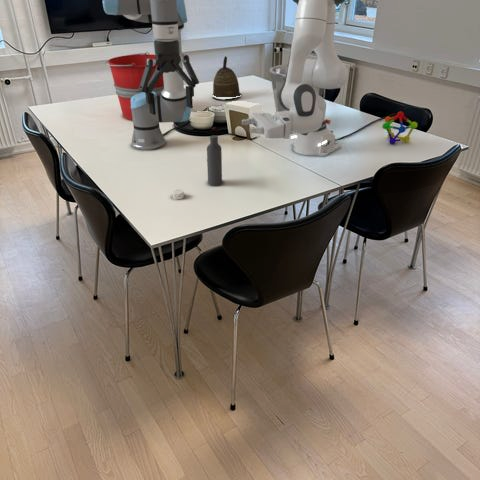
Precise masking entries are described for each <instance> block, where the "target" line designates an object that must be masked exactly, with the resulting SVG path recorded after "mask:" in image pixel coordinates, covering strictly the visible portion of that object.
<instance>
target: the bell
mask: <svg viewBox="0 0 480 480" xmlns="http://www.w3.org/2000/svg"><path fill="white" fill-rule="evenodd" d="M227 63H228V57H227V56H224V58H223V63H222V67H221V68H219V69H218V70H217V71H216V73H215V75H214V78H213V81H212V83H213V84H212V95H214V96H216V97H236V96H240V95H241V96H242V93H241V92H240V83H239V80H238V79H239V78H238V77H237V75H236V73H235V72H234V70H232V69H231V68H230V67H227Z"/></svg>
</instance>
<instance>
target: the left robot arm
mask: <svg viewBox="0 0 480 480" xmlns="http://www.w3.org/2000/svg"><path fill="white" fill-rule="evenodd" d="M101 2H102V7H103V11H104V13H105V14H106V15H112V16H123V17H124V18H126V19H128V20H131V21H135V22H140V23H145V24H146V23H148V24H152V25H151V26H152V35H153V36H152V37H153V39H154V41H153V46H154V47H153V48H154V55H156V56H155V59H149V58H147V59H146V67H145V70H144V73H143V77H142V80H141V83H140V86H139V90H140V91H142V93H139V94H136V95H134V96H133V97H132V98H131V110H132V117H133V120H132V125H133V132H132V135H131V142H130V143H131V147H132V148H134V149H135V150H141V151H151V150H153V151H154V150H157V149H161V148H163V147H164V146H165V144H166V140H165V137H164V136H165V135H167V134H169V133H170V132H172V131H174V130H176V129H178V128H180V127H183V126H184V125H186V124H189V123H190V122H189V120H190V119H191V111H192V109H193V108H194V105H193V97H195V88H196V85H199V84H200V81H199V79H198V77H197V74H196V72H195V70H194V67H193V66H192V64H191V62H190V55H189V54H184V53H183V50H182V33H181V32H182V31H183V30H184V29H185V24H186V23H188V16H187V9H186V5H185V4H186V3H185V0H102V1H101ZM154 64H156V65H157V67H156V69H155V72H154V74H153V76H152V77H151V79H150V76H151V73H152V70H153V66H154ZM183 66H184V67H183ZM184 69H185V70H186V72H187V73H186V72H185V71H184ZM187 74H188V75H187ZM161 75H163V81H164V89H163V90H162V92H161V96H157V94H156V92H152V90H153V89H154V87H155V85H156V83H157V82H158V80H159V78H160V77H161ZM149 79H150V81H149ZM184 83H185V84H186V85H185V84H184ZM208 107H209V106H207V107H206V108H204V109H203V110H202V111H204V112H205V111H206V110H208V109H209V108H208ZM207 108H208V109H207ZM183 122H184V123H183ZM160 123H181V124H179V125H177V126H175V127H173V128H170V129H169V130H167V131H166V132H165V133H163V132H162V130H161V127H160Z"/></svg>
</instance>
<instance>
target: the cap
mask: <svg viewBox="0 0 480 480" xmlns="http://www.w3.org/2000/svg"><path fill="white" fill-rule="evenodd" d="M172 198H173V199H174V200H182V199H184V198H185V193H184V190H183V189H180V188H178V189H174V190H172Z"/></svg>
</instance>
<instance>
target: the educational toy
mask: <svg viewBox="0 0 480 480" xmlns="http://www.w3.org/2000/svg"><path fill="white" fill-rule="evenodd" d="M385 117H386V116H385ZM397 119H399V124H400V125H399V127H398V126H393V125H391V124H392V123H394V122H395V121H396V120H397ZM403 120H404V121H405V122H407V123H408V124H409V125H407V126H404V123H403ZM417 127H418V122H417V121H411V120H410V119H409V118H408V117H406V116H405V113H404V112H403V111H401V110H400V111H398V112H397V113H396V116H395V115H393V116H390V117H386V118H384V122H383V123H382V129H383V130H386V132H387V138H388V142H389V145H395V144H396V143H397V142H402V141H403V142H404V143H409V142H410V140H411V138H410V136H411V134H412V132H413V131H414V130H415V129H417ZM392 129H393V130H397V131H398V132H396V134H395V133H394V132H392ZM408 129H409V131H408V133H407V134H406V135H404V136H401V134H403V133H405V132H406V130H408ZM399 135H400V136H399Z"/></svg>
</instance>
